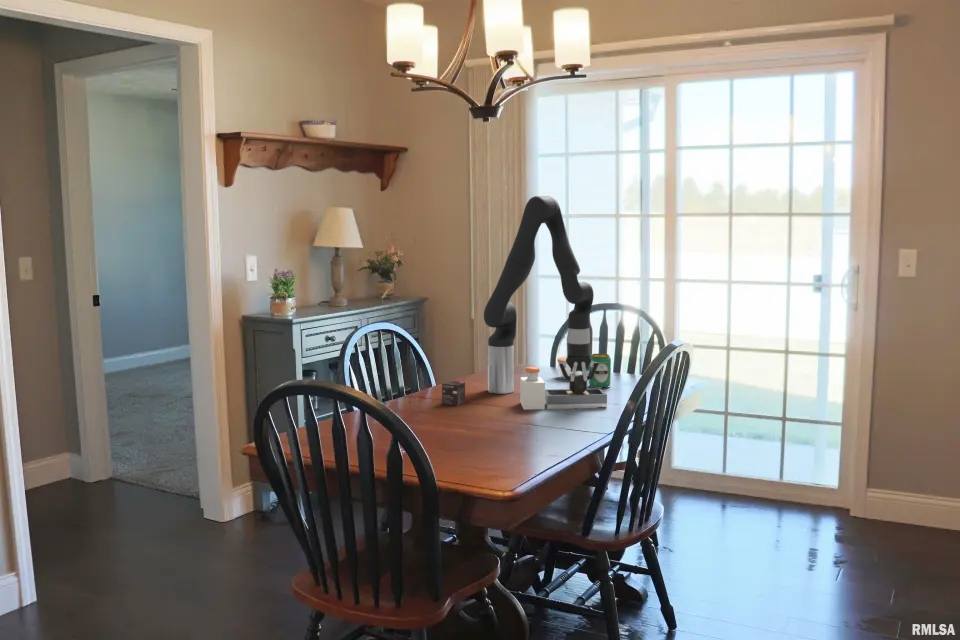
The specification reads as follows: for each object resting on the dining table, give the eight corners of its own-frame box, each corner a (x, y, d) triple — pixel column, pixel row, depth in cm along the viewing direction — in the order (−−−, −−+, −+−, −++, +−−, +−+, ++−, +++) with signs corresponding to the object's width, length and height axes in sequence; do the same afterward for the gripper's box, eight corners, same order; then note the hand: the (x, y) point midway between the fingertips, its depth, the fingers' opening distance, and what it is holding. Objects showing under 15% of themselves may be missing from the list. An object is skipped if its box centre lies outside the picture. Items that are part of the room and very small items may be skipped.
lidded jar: (554, 376, 332) (554, 353, 331) (579, 374, 334) (580, 352, 332) (561, 381, 321) (561, 357, 320) (587, 380, 323) (588, 356, 322)
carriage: (569, 402, 277) (569, 377, 275) (566, 397, 284) (566, 373, 283) (590, 402, 277) (590, 377, 276) (586, 397, 284) (586, 373, 283)
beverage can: (590, 388, 307) (591, 356, 306) (587, 384, 315) (587, 353, 313) (612, 388, 307) (612, 356, 306) (608, 384, 315) (608, 353, 314)
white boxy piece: (523, 409, 274) (523, 383, 273) (520, 402, 284) (520, 377, 283) (544, 409, 275) (544, 382, 274) (540, 402, 285) (540, 376, 284)
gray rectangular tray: (547, 409, 275) (547, 395, 274) (543, 402, 285) (543, 389, 284) (606, 407, 276) (607, 394, 276) (600, 401, 286) (600, 388, 286)
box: (441, 404, 283) (441, 383, 282) (450, 401, 288) (450, 380, 287) (457, 406, 280) (456, 385, 279) (465, 402, 285) (465, 381, 284)
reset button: (526, 383, 276) (526, 369, 275) (524, 380, 281) (524, 367, 280) (540, 383, 276) (540, 369, 276) (538, 380, 281) (538, 366, 280)
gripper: (559, 343, 274) (559, 394, 276) (601, 342, 275) (600, 393, 277) (556, 340, 281) (555, 389, 283) (596, 339, 282) (596, 389, 284)
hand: (578, 391), depth 280 cm, fingers closed on carriage, 3 cm apart
